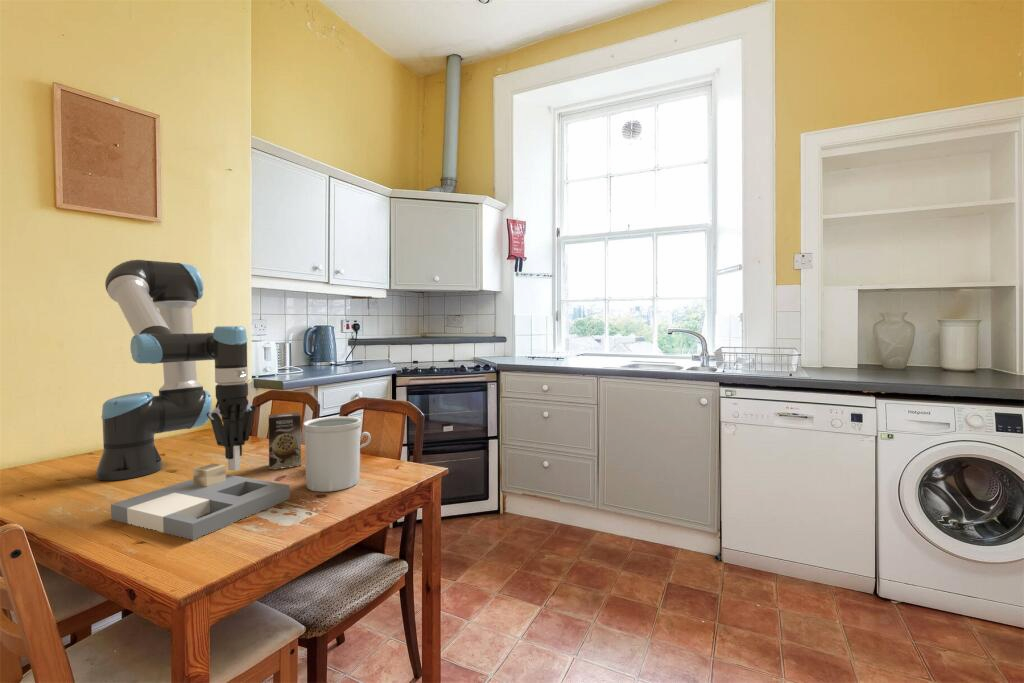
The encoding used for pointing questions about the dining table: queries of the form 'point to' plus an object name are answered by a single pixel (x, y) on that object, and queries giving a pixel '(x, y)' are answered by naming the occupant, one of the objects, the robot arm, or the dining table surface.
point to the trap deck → (199, 505)
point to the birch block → (209, 474)
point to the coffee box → (284, 440)
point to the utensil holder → (332, 453)
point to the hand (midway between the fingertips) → (234, 469)
